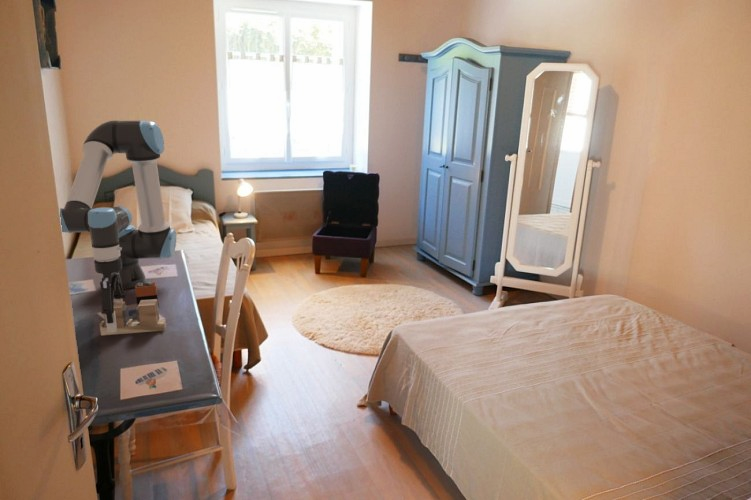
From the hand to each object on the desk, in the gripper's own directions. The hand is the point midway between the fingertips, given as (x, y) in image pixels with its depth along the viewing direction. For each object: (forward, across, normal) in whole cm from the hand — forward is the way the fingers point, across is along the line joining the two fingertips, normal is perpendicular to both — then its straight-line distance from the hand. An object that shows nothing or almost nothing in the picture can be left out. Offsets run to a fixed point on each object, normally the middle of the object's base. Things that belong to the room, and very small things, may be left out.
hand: (116, 324), depth 166 cm
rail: (+3, 0, -5) cm, 6 cm away
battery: (+3, +19, -6) cm, 20 cm away
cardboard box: (0, 0, 0) cm, 0 cm away
